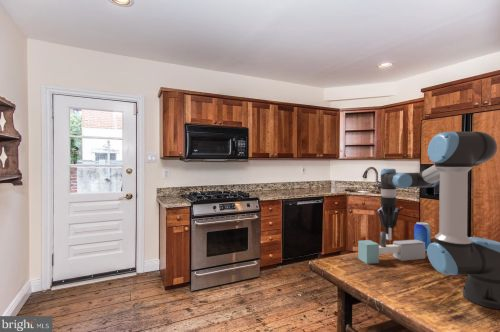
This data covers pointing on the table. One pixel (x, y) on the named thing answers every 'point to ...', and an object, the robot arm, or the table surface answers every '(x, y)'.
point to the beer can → (422, 233)
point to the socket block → (368, 251)
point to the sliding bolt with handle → (387, 246)
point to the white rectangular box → (410, 250)
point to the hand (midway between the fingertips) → (388, 239)
